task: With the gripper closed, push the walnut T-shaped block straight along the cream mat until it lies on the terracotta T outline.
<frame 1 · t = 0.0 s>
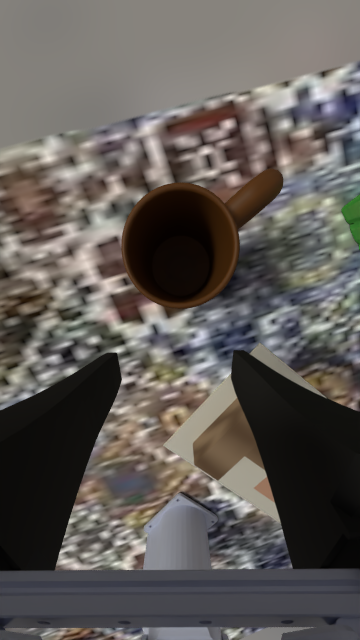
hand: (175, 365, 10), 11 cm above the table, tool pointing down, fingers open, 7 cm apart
t block: (261, 437, 24), resting on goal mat
mug: (196, 255, 19), on the table
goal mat: (323, 482, 25), on the table
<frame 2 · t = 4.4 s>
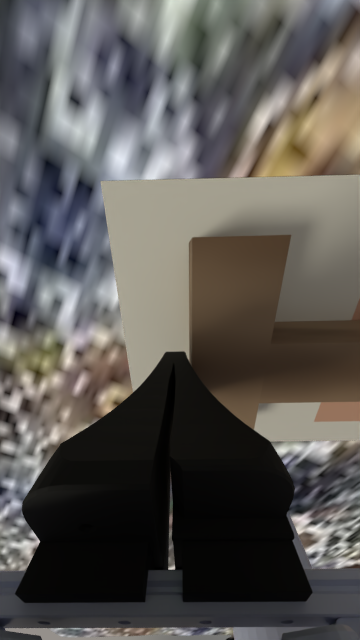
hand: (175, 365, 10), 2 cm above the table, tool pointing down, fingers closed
t block: (286, 347, 12), resting on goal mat, touching gripper
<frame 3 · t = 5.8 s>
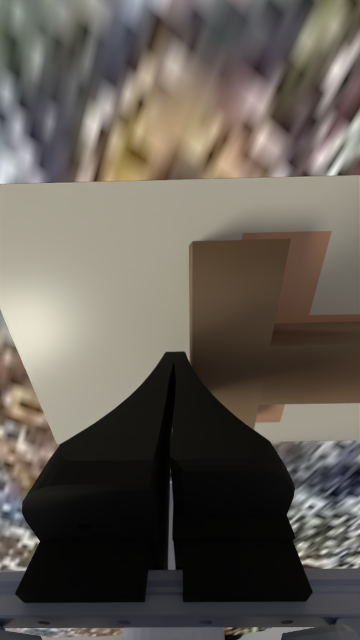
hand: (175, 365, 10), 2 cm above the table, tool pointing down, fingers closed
t block: (286, 348, 12), resting on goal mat, touching gripper
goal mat: (334, 346, 12), on the table
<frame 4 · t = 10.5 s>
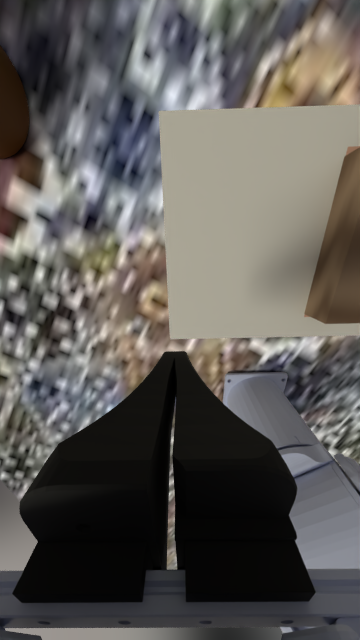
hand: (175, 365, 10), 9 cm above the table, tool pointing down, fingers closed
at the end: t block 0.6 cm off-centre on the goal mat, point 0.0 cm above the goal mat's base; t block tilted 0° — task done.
